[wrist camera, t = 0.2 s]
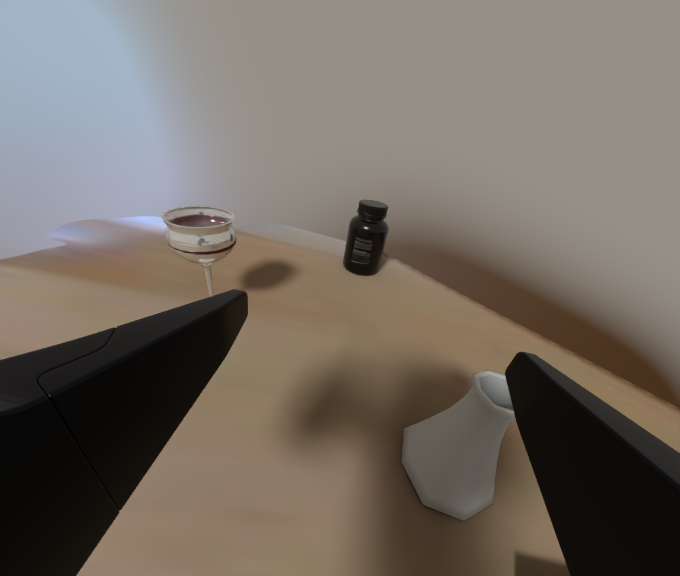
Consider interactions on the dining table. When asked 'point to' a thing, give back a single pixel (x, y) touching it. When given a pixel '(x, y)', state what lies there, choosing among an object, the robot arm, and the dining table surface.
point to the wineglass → (200, 235)
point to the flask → (460, 448)
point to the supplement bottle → (366, 238)
